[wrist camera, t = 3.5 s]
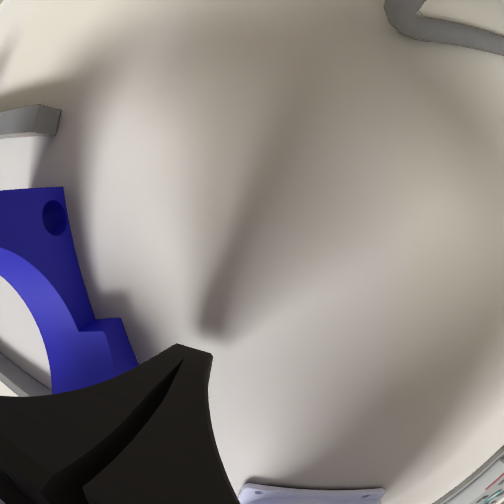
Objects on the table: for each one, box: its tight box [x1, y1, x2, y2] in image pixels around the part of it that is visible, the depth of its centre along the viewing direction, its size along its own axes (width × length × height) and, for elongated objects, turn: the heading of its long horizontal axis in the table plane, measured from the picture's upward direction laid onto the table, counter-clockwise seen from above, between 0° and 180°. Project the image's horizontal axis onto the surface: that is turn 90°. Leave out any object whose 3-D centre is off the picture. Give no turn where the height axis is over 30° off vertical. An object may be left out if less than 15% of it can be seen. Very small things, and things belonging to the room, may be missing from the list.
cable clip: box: [0, 187, 138, 394], centre depth 8 cm, size 12×4×6 cm, turn 11°
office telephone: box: [433, 446, 504, 504], centre depth 11 cm, size 23×3×20 cm
